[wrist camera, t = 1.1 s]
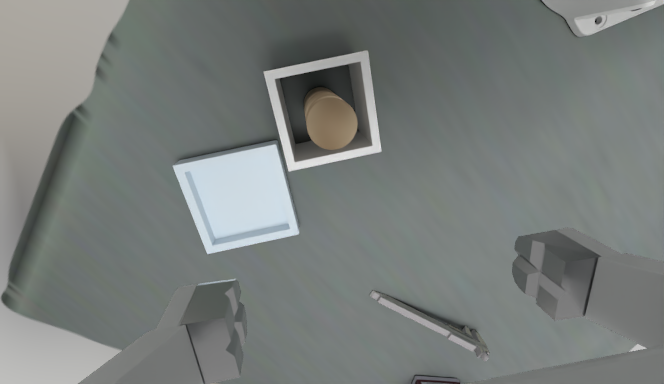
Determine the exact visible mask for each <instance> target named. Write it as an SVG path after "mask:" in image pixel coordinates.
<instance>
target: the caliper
mask: <svg viewBox="0 0 664 384" xmlns="http://www.w3.org/2000/svg"><path fill="white" fill-rule="evenodd" d="M370 296H371V297H372V298H374V299H376V300H377V301H378V302H379V303H381V304H383V305H385V306H387V307H388V308H390V309H392V310H394V311H396V312H398V313H400V314H402V315H404V316H406V317H408V318H410V319H412V320H414V321H416V322H418V323H420V324H422V325H424V326H426V327H428V328H430V329H432V330H434V331H436V332H438V333H440V334H442V335H444V336H446V337H447V338H448V339H449V340H451V341H453V342H455V343H457V344H459V345H461V346H463V347H465V348H467V349H469V350H471V351H475V352H476V355H477V357H478V358H479V357H480V356H481V358H482V359H483V360H484V361H485V362H486V360H487V359H488V358H489V356H488V355H489V350H488V348H487V346H486V344H485V342H484V341H483V339H482V338H481V336H480V335H479V333H478V332H477V331H476V330H475V329H473V330H472V331H471V332H470V330H469V328H468V326H465V327H464V328H463V329H462V331H461V330H459V329H458V328H456V327H454V326H452V325H450V324H449V323H447V325H445V324H443V323H441V322H439V321H437V320H435V319H433V318H431V317H429V316H427V315H425V314H423V313H421V312H419V311H417V310H415V309H413V308H411V307H409V306H408V305H406V304H404V303H402V302H400V301H398V300H396V299H394V298H392V297H390V296H388V295H385V294H382V293H378V292H376V291H374V290H372V292H371V294H370Z"/></svg>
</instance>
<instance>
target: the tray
mask: <svg viewBox="0 0 664 384" xmlns="http://www.w3.org/2000/svg"><path fill="white" fill-rule="evenodd" d="M173 168H174V171H175V173H176V176H177V178H178V181H179V183H180V186H181V188H182V191H183V194H184V196H185V199H186V201H187V204H188V206H189V209H190V211H191V214H192V216H193V219H194V221H195V224H196V226H197V229H198V231H199V234H200V237H201V239H202V242H203V244H204V247H205V249H206V252H207V254H210V253H214V252H219V251H224V250H228V249H233V248H238V247H242V246H247V245H251V244H256V243H261V242H265V241H270V240H274V239H279V238H284V237H288V236H293V235H298V234H299V222H298V218H297V215H296V211H295V207H294V203H293V199H292V195H291V191H290V187H289V183H288V180H287V176H286V172H285V168H284V164H283V160H282V156H281V152H280V149H279V145H278V141H277V140H273V141H269V142H264V143H259V144H254V145H250V146H245V147H240V148H235V149H231V150H226V151H221V152H216V153H212V154H207V155H202V156H197V157H192V158H188V159H183V160H179V161H178V162H177V163H176V164H174V165H173Z"/></svg>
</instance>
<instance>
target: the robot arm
mask: <svg viewBox="0 0 664 384" xmlns="http://www.w3.org/2000/svg"><path fill="white" fill-rule="evenodd" d="M542 1H543V2H544V4H545V5H546V6H548V7H549V8H550V9H551V10H553V11H555V12H556V13H558V14H560V15H561V16H563V17H564V18H565V19H566V21H567V23H568V25H569V26H570V28H571V30H572V31H573V33H574V34H575V35H576V36H578V37H584V36H588V35H591V34H594V33H596V32H598V31H601V30H603V29H606V28H608V27H610V26H613V25H615V24H617V23H620V22H622V21H625V20H627V19H629V18H632V17H634V16H636V15H639V14H641V13H644V12H646V11H648V10H651V9H653V8H655V7H658V6H660V5H663V4H664V0H542ZM595 19H597V22H596V24H595ZM515 251H516V252H517V254H518V256H517V258H516V259H515V260H514V262H513V267H512V274H513V277H514V280H515V283H516V284H517V286H518V287H519V288H520V289H521V290H522V291H523V292H524V293H525V294H527V295H529V296H532V297H534V298H536V304H537V305H538V306H539V307H540V308H541V309H542V310H543V311H544V312H546V313H547V314H548V315H549V316H550V317H551V318H552V319H553V320H554V321H556V320H563V319H570V318H576V317H583V316H585V318H586V319H588V320H590V321H592V322H594V323H596V324H598V325H601V326H603V327H605V328H607V329H609V330H611V331H613V332H615V333H617V334H619V335H621V336H623V337H625V338H627V339H629V340H631V341H633V342H635V343H637V344H639V345H641V346H644V347H646V348H648V349H643V350H638V351H632V352H627V353H622V354H616V355H611V356H606V357H601V358H595V359H590V360H585V361H580V362H574V363H569V364H564V365H559V366H553V367H548V368H543V369H538V370H532V371H527V372H522V373H517V374H512V375H507V376H502V377H496V378H491V379H486V380H481V381H476V382H471V383H466V384H664V262H663V261H658V260H654V259H650V258H646V257H641V256H637V255H633V254H628V253H624V254H621V253H619V252H617V251H615V250H613V249H611V248H609V247H608V246H606V245H604V244H602V243H600V242H598V241H596V240H594V239H592V238H591V237H589V236H587V235H585V234H583V233H581V232H579V231H577V230H575V229H573V228H562V229H557V230H552V231H547V232H542V233H536V234H530V235H525V236H519V237H518V238H517V240H516V242H515ZM240 295H241V290H240V286H239V282H238V281H237V279H232V280H224V281H216V282H209V283H201V284H193V285H187V286H181V287H179V288H177V289H176V291H175V293H174V295H173V297H172V298H171V300H170V302H169V304H168V306H167V308H166V310H165V312H164V314H163V316H162V318H161V320H160V321H159V323H158V325H157V327H156V329H155V330H150V331H148V332H146V333H145V334H144V335H142V336H141V337H140V338H138V339H137V340H136V341H134V342H133V343H132V344H130V345H129V346H128V347H126V348H125V349H124V350H122V351H121V352H120V353H118V354H117V355H116V356H114V357H113V358H112V359H111V360H109V361H108V362H106V363H105V364H104V365H102V366H101V367H100V368H98V369H97V370H96V371H94V372H93V373H92V374H90V375H89V376H88V377H86V378H85V379H84V380H82V381H81V382H80V383H78V384H210V383H214V382H219V381H224V380H229V379H233V378H238V377H240V374H241V367H242V361H243V351H242V345H243V344H244V342H245V341H246V335H247V319H246V312H245V307H244V305H243V304H242V303H241V302H239V300H240Z"/></svg>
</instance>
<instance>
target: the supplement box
mask: <svg viewBox="0 0 664 384" xmlns="http://www.w3.org/2000/svg"><path fill="white" fill-rule="evenodd" d="M412 384H460V382H459V380H458V379H457V378H442V377H428V376H415V377H414V380H413V382H412Z"/></svg>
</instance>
